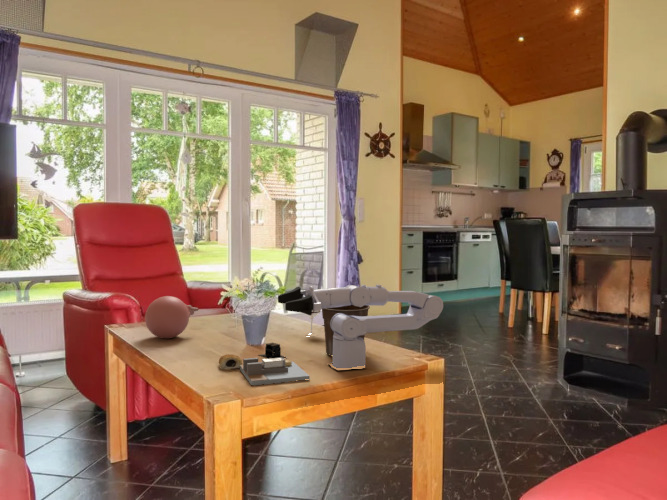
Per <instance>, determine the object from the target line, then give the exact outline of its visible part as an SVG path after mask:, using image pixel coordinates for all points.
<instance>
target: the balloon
mask: <svg viewBox="0 0 667 500" xmlns="http://www.w3.org/2000/svg"><path fill="white" fill-rule="evenodd" d="M198 311H199V307H193V305H191V304H186V303H184V301H182V300H181V299H180V298H179V297H176V296H172V295H171V296H170V295H165V296H160V297H158V298H156V299H154V300H153V301H152V302H151V303H149V305H148V307H147V309H146V311H145V315H144V321H145V326H146V328H147V329H148V331H149V332H150V334H152V335H153V336H155V337H156V338H157V337H158V338H161V339H172V338H175V337H178V336H179V335H181V334H182V333H184V332H185V330H186V328H187V326H188V324H189V322H190V317H191V316H193V315H194V314H195V312H198Z"/></svg>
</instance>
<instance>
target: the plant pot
mask: <svg viewBox="0 0 667 500" xmlns="http://www.w3.org/2000/svg"><path fill="white" fill-rule="evenodd" d="M370 306H371V305H364V306H362V307H359V306H354V305H352V304H351V305H349V306H342V307H334V308H325V309H321V315H322V319H323V326H324V327H323V328H324V330H323V331H324V339H325V341H324V342H325V353H327V354H330V355H333V335H334V331H333V330H332V329H331V326H330V322H331V319H332V317H333V316H334V315H336V314H338V313H343V314H345V315H348V316H369V309H370V308H371V307H370ZM365 335H366V334H365ZM365 335H360V336H358V337H362V338H363V339H364V340H365V337H366V336H365ZM327 354H326V355H327Z"/></svg>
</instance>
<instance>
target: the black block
mask: <svg viewBox="0 0 667 500" xmlns="http://www.w3.org/2000/svg"><path fill="white" fill-rule="evenodd" d="M264 347H265V348H264V350H265V352H264V353H261V354H257V356H258V357H262V358H263V359H271V358H286V357H287V356H285V357H284V356H283V355H281V350H282V349H281V344H280V343H275V342H268V343H266V344H265V346H264ZM286 359H287V358H286Z"/></svg>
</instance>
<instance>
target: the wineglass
mask: <svg viewBox="0 0 667 500" xmlns="http://www.w3.org/2000/svg"><path fill="white" fill-rule="evenodd" d="M320 313H321V310H319V311H314V310H312V315H307V314H305V313H303V314H304V315H305V316H306V317H308V318H309V319H310V333H307V334H308V335H311V334H315V333H313V319H315V318H316V317H317V316H319V314H320Z"/></svg>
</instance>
